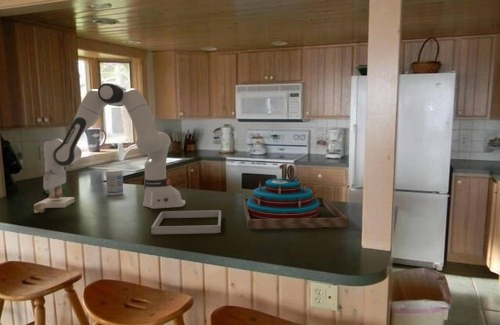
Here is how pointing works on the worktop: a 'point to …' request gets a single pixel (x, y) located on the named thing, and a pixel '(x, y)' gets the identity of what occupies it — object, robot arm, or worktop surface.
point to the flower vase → (56, 187)
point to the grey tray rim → (186, 229)
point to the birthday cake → (283, 198)
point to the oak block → (58, 193)
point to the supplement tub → (114, 182)
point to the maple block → (39, 207)
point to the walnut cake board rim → (298, 219)
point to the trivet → (57, 202)
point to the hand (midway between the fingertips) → (55, 194)
